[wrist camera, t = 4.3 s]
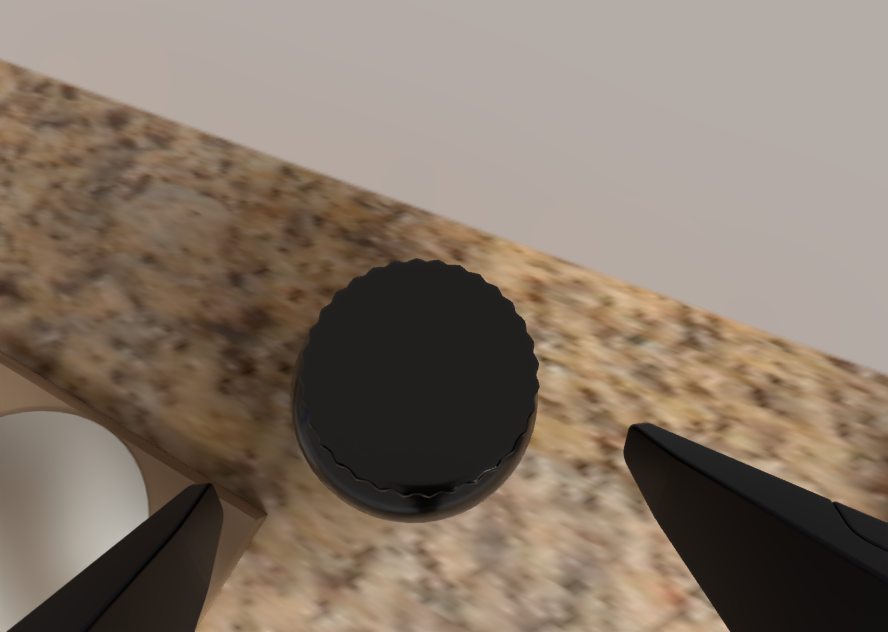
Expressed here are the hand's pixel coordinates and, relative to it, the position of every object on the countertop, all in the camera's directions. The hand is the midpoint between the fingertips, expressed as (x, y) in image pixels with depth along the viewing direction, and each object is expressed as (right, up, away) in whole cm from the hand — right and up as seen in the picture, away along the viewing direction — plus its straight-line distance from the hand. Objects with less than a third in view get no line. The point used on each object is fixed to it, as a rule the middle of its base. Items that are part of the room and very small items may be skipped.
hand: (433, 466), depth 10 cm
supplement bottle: (-1, -1, +11) cm, 11 cm away
